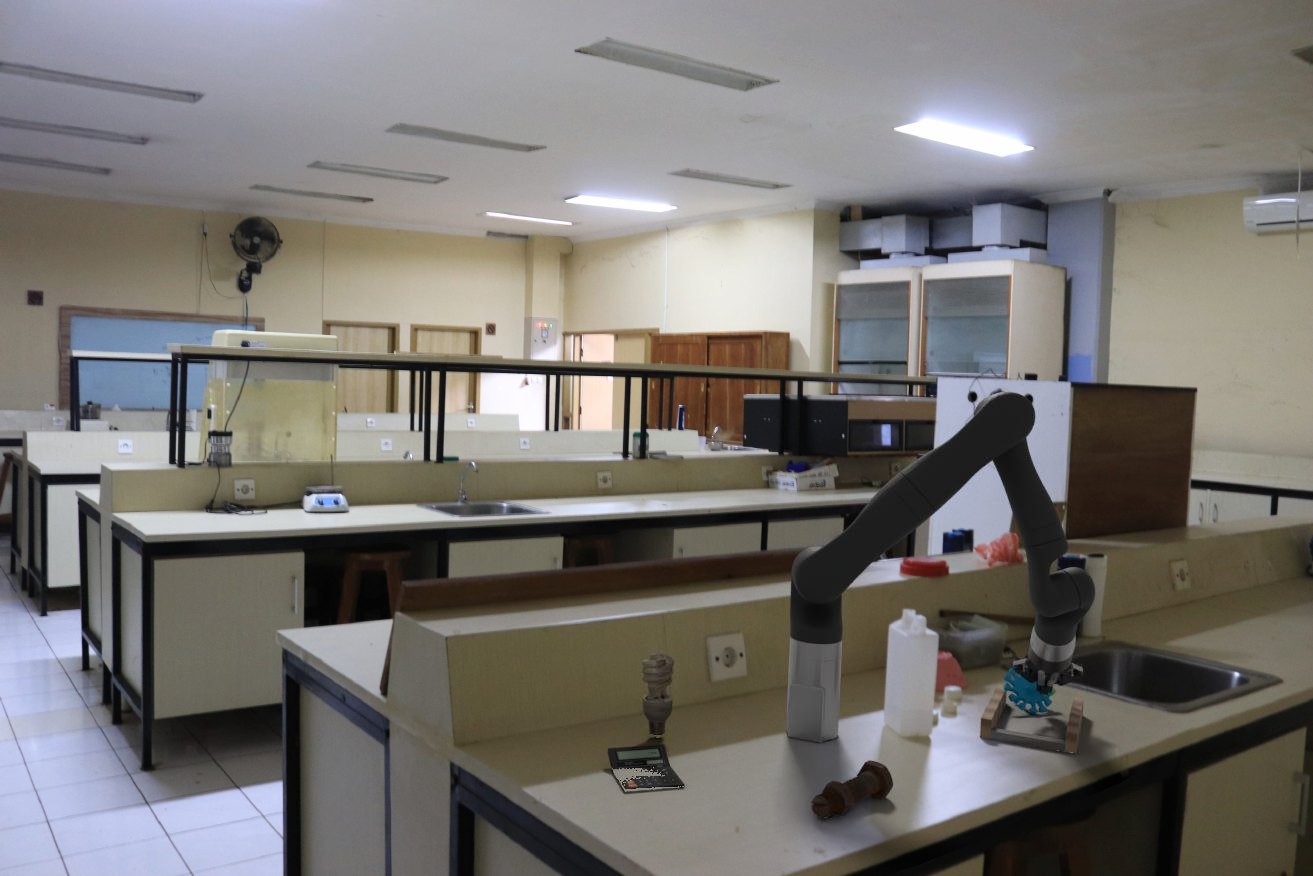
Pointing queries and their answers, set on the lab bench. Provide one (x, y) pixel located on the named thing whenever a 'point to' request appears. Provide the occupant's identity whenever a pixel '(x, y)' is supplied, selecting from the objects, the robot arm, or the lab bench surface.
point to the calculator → (645, 766)
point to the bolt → (853, 790)
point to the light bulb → (657, 691)
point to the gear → (1026, 693)
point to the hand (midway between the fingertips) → (1043, 690)
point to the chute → (1068, 745)
